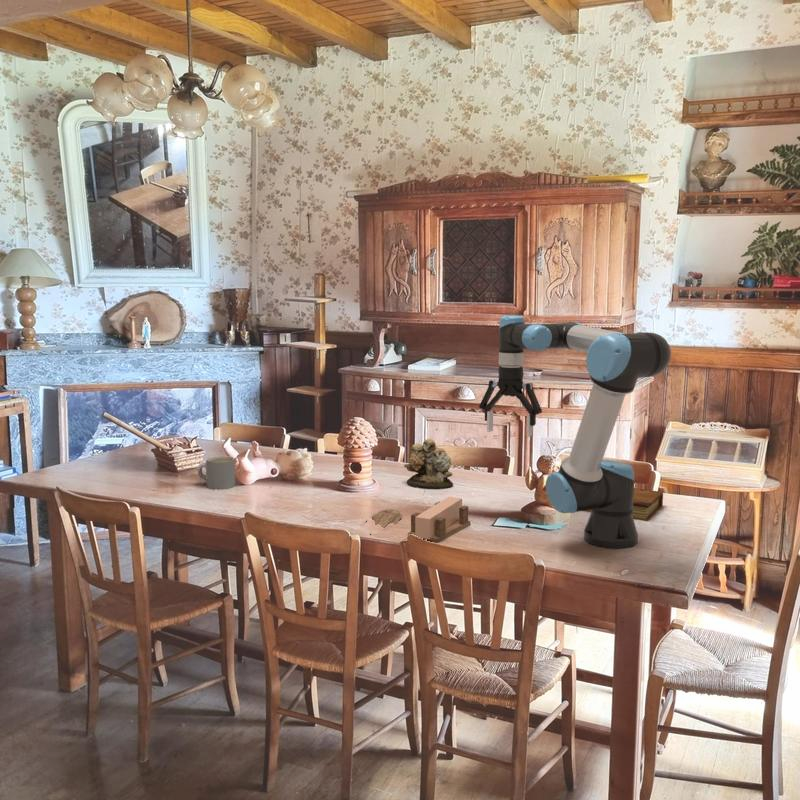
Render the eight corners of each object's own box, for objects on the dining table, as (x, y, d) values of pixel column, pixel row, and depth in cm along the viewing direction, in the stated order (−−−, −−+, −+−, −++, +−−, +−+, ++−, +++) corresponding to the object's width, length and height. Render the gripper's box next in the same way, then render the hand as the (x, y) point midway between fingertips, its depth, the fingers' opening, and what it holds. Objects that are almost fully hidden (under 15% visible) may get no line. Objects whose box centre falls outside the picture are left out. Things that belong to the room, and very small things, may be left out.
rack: (470, 524, 257) (470, 505, 256) (437, 542, 240) (437, 521, 239) (442, 519, 262) (442, 500, 261) (408, 536, 245) (408, 516, 244)
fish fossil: (386, 537, 246) (386, 534, 246) (353, 538, 248) (353, 534, 248) (403, 511, 271) (403, 507, 271) (373, 511, 273) (373, 508, 273)
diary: (662, 508, 276) (663, 491, 275) (647, 523, 260) (648, 505, 259) (594, 497, 288) (595, 481, 287) (576, 511, 272) (576, 494, 271)
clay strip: (462, 517, 260) (462, 498, 259) (429, 539, 239) (429, 519, 238) (448, 515, 262) (448, 496, 261) (415, 537, 241) (415, 517, 240)
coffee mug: (240, 483, 305) (239, 457, 303) (225, 490, 296) (224, 463, 294) (209, 480, 310) (207, 454, 308) (193, 487, 300) (192, 460, 299)
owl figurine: (400, 487, 300) (400, 441, 298) (408, 479, 311) (408, 434, 309) (449, 490, 296) (450, 443, 293) (456, 482, 307) (456, 436, 304)
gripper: (553, 367, 254) (551, 435, 257) (480, 362, 267) (479, 427, 271) (543, 369, 248) (542, 440, 251) (469, 364, 261) (468, 431, 264)
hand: (509, 433), depth 261 cm, fingers open, 13 cm apart
